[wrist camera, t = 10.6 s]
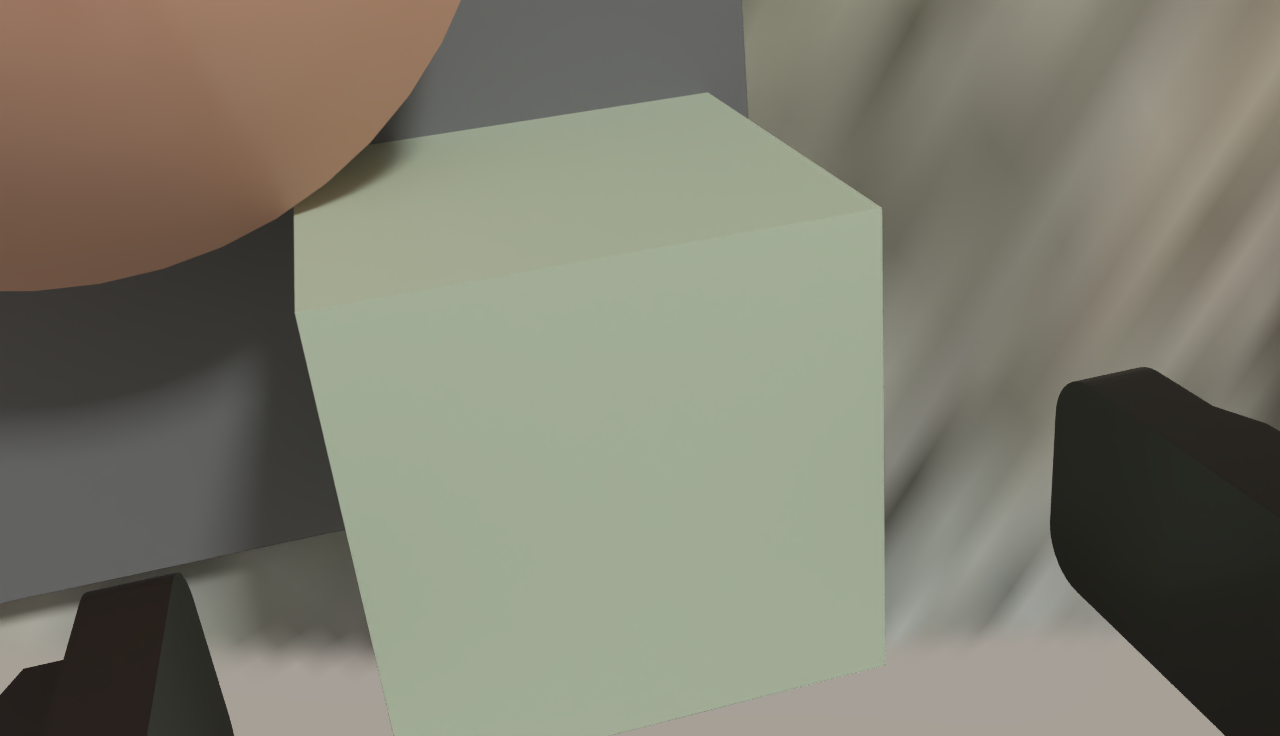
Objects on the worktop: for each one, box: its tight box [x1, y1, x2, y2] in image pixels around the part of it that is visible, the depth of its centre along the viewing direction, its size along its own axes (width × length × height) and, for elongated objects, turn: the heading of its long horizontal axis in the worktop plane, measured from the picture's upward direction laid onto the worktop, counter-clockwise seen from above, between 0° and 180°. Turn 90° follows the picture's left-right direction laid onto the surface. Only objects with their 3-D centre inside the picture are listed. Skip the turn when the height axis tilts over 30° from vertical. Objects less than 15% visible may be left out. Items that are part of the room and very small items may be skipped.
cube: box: [294, 92, 885, 736], centre depth 13 cm, size 5×5×5 cm
